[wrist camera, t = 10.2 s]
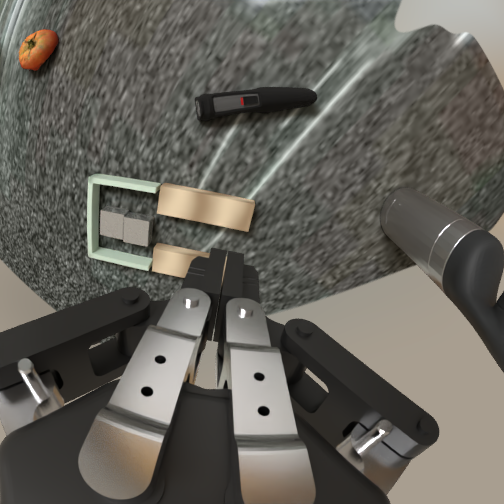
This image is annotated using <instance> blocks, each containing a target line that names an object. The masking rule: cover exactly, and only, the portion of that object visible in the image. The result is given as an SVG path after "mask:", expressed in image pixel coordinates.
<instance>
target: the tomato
mask: <svg viewBox="0 0 504 504" xmlns="http://www.w3.org/2000/svg"><path fill="white" fill-rule="evenodd" d="M58 41H59V39H58V36H57V34H56V33H55V32H54V31H51V30H40V31H37V32H35V33H34V34H32V35H30V36H28V37H27V38H26V39H25V41H24V42H23V43H22V45H21V47H20V51H19V61H20V64H21V67H22V68H23V69H25V70H26V69H31V70H38V69H39V67H40V66H41V65H42V64H43V63H44V62H45V61H46V60H47V59H48V58H49V55H51V54H52V53H53V51H54V49H55V46H56V45H57V44H58ZM29 71H30V70H29Z"/></svg>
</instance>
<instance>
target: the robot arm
mask: <svg viewBox="0 0 504 504" xmlns="http://www.w3.org/2000/svg"><path fill="white" fill-rule="evenodd" d="M380 220H381V226H382V229H383V231H384V233H385V234H386V235H387V236H388V237H389V238H390V239H391V240H392V241H393V242H394V243H395V244H396V245H397V246H398V247H399V248H401V249H402V250H403V251H404V252H405V253H406V254H407V255H408V256H409V257H410V258H411V259H412V260H413V261H414V262H415V263H416V264H417V265H418V266H419V267H420V268H421V269H422V270H423V271H424V272H425V273H426V274H427V275H428V276H429V277H430V279H431V280H432V281H434V283H435V284H436V285H437V286H438V287H439V288H440V289H441V290H442V291H443V292H444V293H445V294H446V296H447V297H448V298H449V299H450V300H451V301H452V302H453V303H454V304H455V305H456V306H457V308H458V309H459V310H460V311H461V312H462V314H463V315H464V316H465V317H466V319H467V320H468V321H469V322H470V324H471V325H472V326H473V328H474V329H475V331H476V332H477V333H478V335H479V336H480V338H481V339H482V341H483V342H484V344H485V346H486V347H487V349H488V350H489V352H490V353H491V355H492V356H493V358H494V359H495V361H496V362H497V364H498V366H499V367H500V368H501V370H502V371H503V372H504V292H503V293H502V295H501V296H500V297H499V299H498V300H497V302H496V298H497V292H498V287H499V283H500V280H501V276H502V273H503V268H504V250H503V247H502V244H501V243H500V241H499V240H498V239H497V238H495V236H493V235H492V234H490V233H489V232H487V231H486V230H484V229H483V228H481V227H480V226H478V225H476V224H475V223H473V222H472V221H470V220H468V219H467V218H465V217H463V216H462V215H460V214H458V213H457V212H455V211H453V210H451V209H450V208H448V207H446V206H444V205H443V204H441V203H439V202H437V201H435V200H434V199H432V198H430V197H428V196H426V195H424V194H422V193H421V192H419V191H417V190H414V189H412V188H408V187H405V188H400V189H398V190H396V191H394V192H393V193H392V194H391V195H390V196H389V197H388V198H387V199H386V201H385V203H384V205H383V207H382V210H381V217H380ZM226 254H227V251H226V250H221V249H216V248H211V252H210V255H209V258H207V257H202V256H197V257H196V258H194V259H193V260H192V261H191V264H190V266H189V269H188V271H187V274H186V276H185V279H184V282H183V284H182V287H181V289H180V290H178V291H176V292H175V293H174V294H173V295H172V297H171V299H169V300H165V301H150V297H149V295H148V294H147V293H146V292H145V291H143V290H141V289H138V288H133V287H127V288H122V289H119V290H116V291H113V292H111V293H108V294H105V295H102V296H99V297H97V298H94V299H91V300H88V301H85V302H83V303H80V304H77V305H74V306H72V307H69V308H66V309H63V310H60V311H58V312H55V313H52V314H49V315H47V316H44V317H41V318H38V319H36V320H33V321H30V322H27V323H25V324H22V325H19V326H17V327H14V328H11V329H8V330H6V331H3V332H0V420H1V423H2V426H3V428H4V431H5V433H6V437H5V438H4V440H3V441H2V443H1V445H0V504H390V501H389V499H388V497H387V496H386V495H387V494H388V493H389V491H390V490H391V489H392V487H393V486H394V485H395V483H396V482H397V480H398V479H399V478H400V476H401V475H402V473H403V472H404V470H405V469H406V467H407V466H408V464H409V463H410V461H411V460H412V459H414V458H415V457H416V456H418V455H419V454H421V453H422V452H423V451H425V450H426V449H427V448H429V447H430V446H431V445H432V444H434V443H435V442H436V441H437V439H438V437H439V427H438V424H437V422H436V421H435V419H434V418H433V417H432V416H431V415H429V414H428V413H427V412H426V411H424V410H423V409H422V408H420V407H419V406H418V405H416V404H415V403H414V402H413V401H411V400H410V399H409V398H407V397H406V396H405V395H403V394H402V393H401V392H399V391H398V390H397V389H396V388H394V387H393V386H392V385H391V384H389V383H388V382H387V381H385V380H384V379H383V378H382V377H380V376H379V375H378V374H376V373H375V372H374V371H373V370H371V369H370V368H369V367H368V366H366V365H365V364H364V363H363V362H361V361H360V360H359V359H358V358H356V357H355V356H354V355H353V354H351V353H350V352H349V351H347V350H346V349H345V348H344V347H342V346H341V345H340V344H339V343H337V342H336V341H335V340H334V339H332V338H331V337H330V336H329V335H328V334H326V333H325V332H324V331H323V330H321V329H320V328H319V327H318V326H316V325H315V324H314V323H312V322H310V321H307V320H304V319H292V320H290V321H288V322H287V323H286V325H282V324H280V323H277V322H274V321H272V320H271V319H269V318H267V317H266V316H265V312H264V309H263V307H262V306H261V305H260V298H259V281H258V272H257V271H256V269H255V268H254V266H249V265H244V254H242V253H237V252H232V251H228V255H227V260H226ZM225 260H226V265H225ZM224 266H225V271H224ZM223 272H224V276H223ZM222 278H223V281H222ZM221 285H222V286H221ZM220 291H221V292H220ZM219 297H220V299H219ZM218 302H219V305H218ZM217 307H218V312H217ZM216 313H217V318H216ZM215 318H216V325H215V332H214V339H213V341H215V342H218V349H217V354H216V383H215V389H203V388H201V387H198V386H196V385H194V384H195V380H196V376H197V373H198V369H199V366H200V362H201V359H202V355H203V350H204V349H205V346H206V341H207V340H209V341H211V340H212V335H213V329H214V324H215ZM113 334H116V338H114V339H112V340H109V341H107V342H105V343H102V344H100V345H98V346H96V347H93V348H91V349H89V348H90V346H91V345H92V344H93V343H95V342H97V341H100V340H102V339H104V338H107V337H109V336H111V335H113ZM307 368H308V369H309V370H310V371H311V372H312V373H313V374H315V375H316V376H317V377H318V378H319V379H320V380H321V381H323V382H324V383H325V384H326V386H327V388H328V391H329V393H327V392H326V391H325V390H324V389H323V388H322V387H321V386H320V385H319V384H317V383H316V382H315V381H314V380H313V379H312V378H311V377H310V376H309V375H307V374H306V373H305V370H306V369H307ZM120 376H122V377H121V379H118V380H115V381H112V380H114V379H116V378H118V377H120ZM110 381H112V382H110ZM108 382H109V383H108ZM106 383H107V384H106ZM104 384H105V385H104ZM102 385H103V386H102ZM100 386H101V387H100ZM98 387H99V388H98ZM96 388H97V389H96ZM94 389H95V390H94ZM91 390H94V391H92V392H90V391H91ZM87 392H90V393H88V394H86V393H87ZM84 394H86V395H84ZM81 395H84V396H82V397H80V398H79V399H77V400H75V401H73V402H71V403H69V404H67V405H65V406H64V404H65V403H67V402H69V401H71V400H73V399H75V398H77V397H79V396H81Z"/></svg>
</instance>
